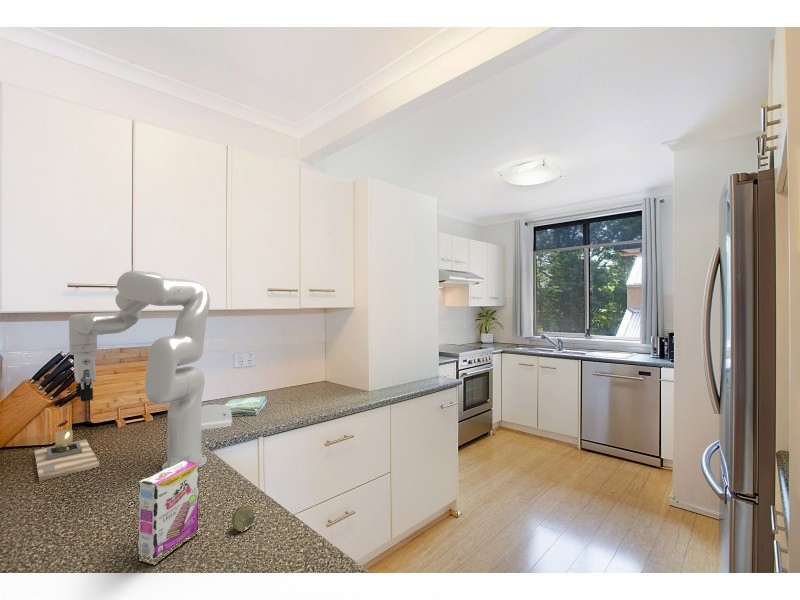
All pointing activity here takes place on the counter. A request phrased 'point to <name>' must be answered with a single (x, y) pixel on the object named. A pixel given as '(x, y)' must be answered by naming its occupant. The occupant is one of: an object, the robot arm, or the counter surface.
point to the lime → (242, 518)
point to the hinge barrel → (64, 440)
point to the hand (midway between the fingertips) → (84, 398)
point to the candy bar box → (167, 508)
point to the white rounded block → (215, 416)
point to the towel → (247, 405)
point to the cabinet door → (64, 460)
